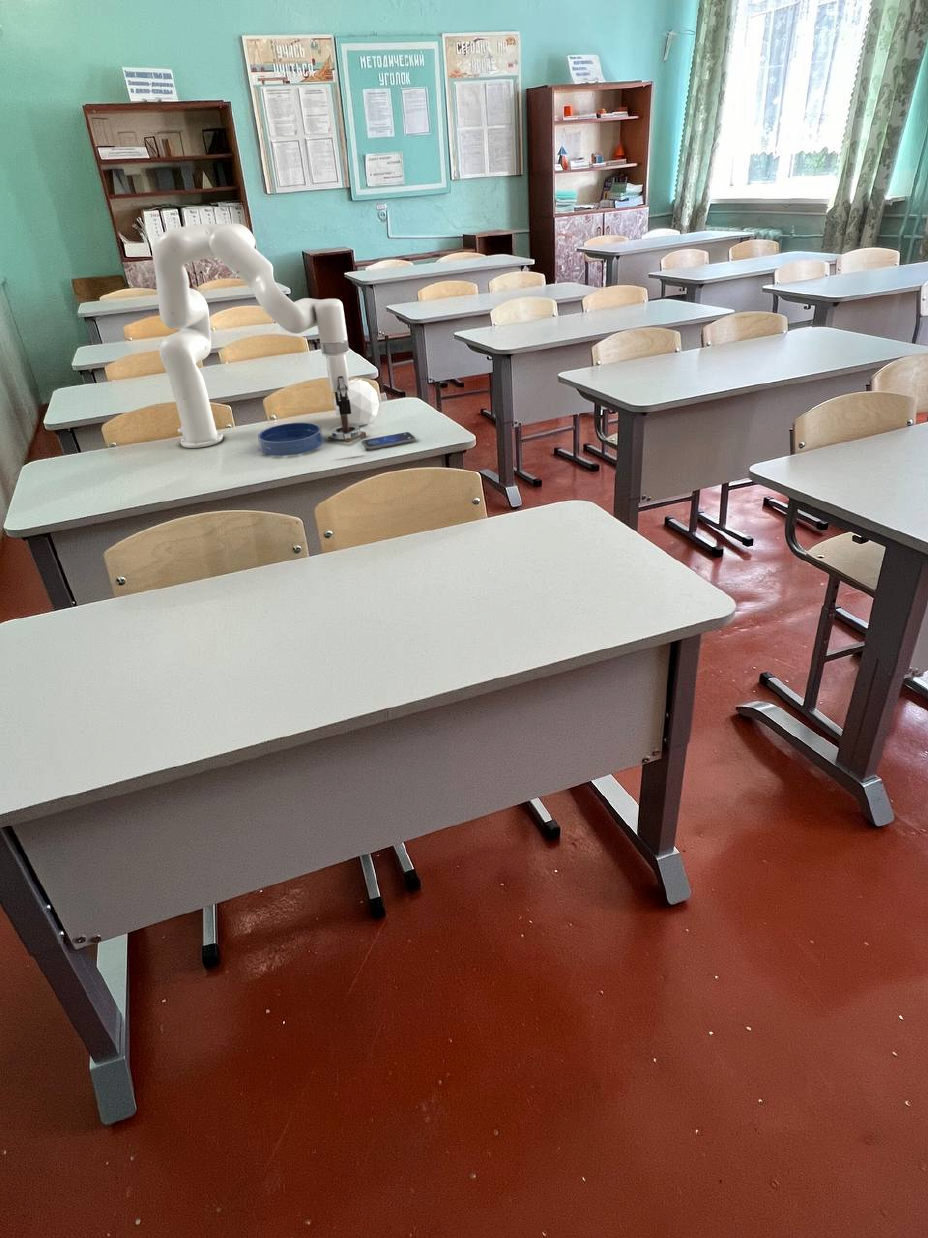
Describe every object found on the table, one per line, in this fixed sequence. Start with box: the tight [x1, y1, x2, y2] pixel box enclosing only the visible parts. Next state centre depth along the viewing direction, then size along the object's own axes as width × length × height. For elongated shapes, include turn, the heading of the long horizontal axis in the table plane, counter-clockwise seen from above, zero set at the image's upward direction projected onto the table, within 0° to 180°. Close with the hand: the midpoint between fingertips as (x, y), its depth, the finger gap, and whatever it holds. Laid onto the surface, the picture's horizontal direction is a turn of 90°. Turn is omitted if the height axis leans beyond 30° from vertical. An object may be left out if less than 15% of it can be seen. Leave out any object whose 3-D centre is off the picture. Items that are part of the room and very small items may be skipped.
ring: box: [330, 424, 362, 439], centre depth 224 cm, size 8×8×2 cm
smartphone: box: [360, 431, 417, 451], centre depth 219 cm, size 7×1×15 cm
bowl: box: [257, 422, 324, 456], centre depth 221 cm, size 18×18×4 cm
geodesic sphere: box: [332, 377, 380, 427], centre depth 234 cm, size 15×14×14 cm
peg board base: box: [327, 415, 367, 443], centre depth 223 cm, size 8×8×8 cm
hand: (343, 409), depth 217 cm, fingers open, 9 cm apart
